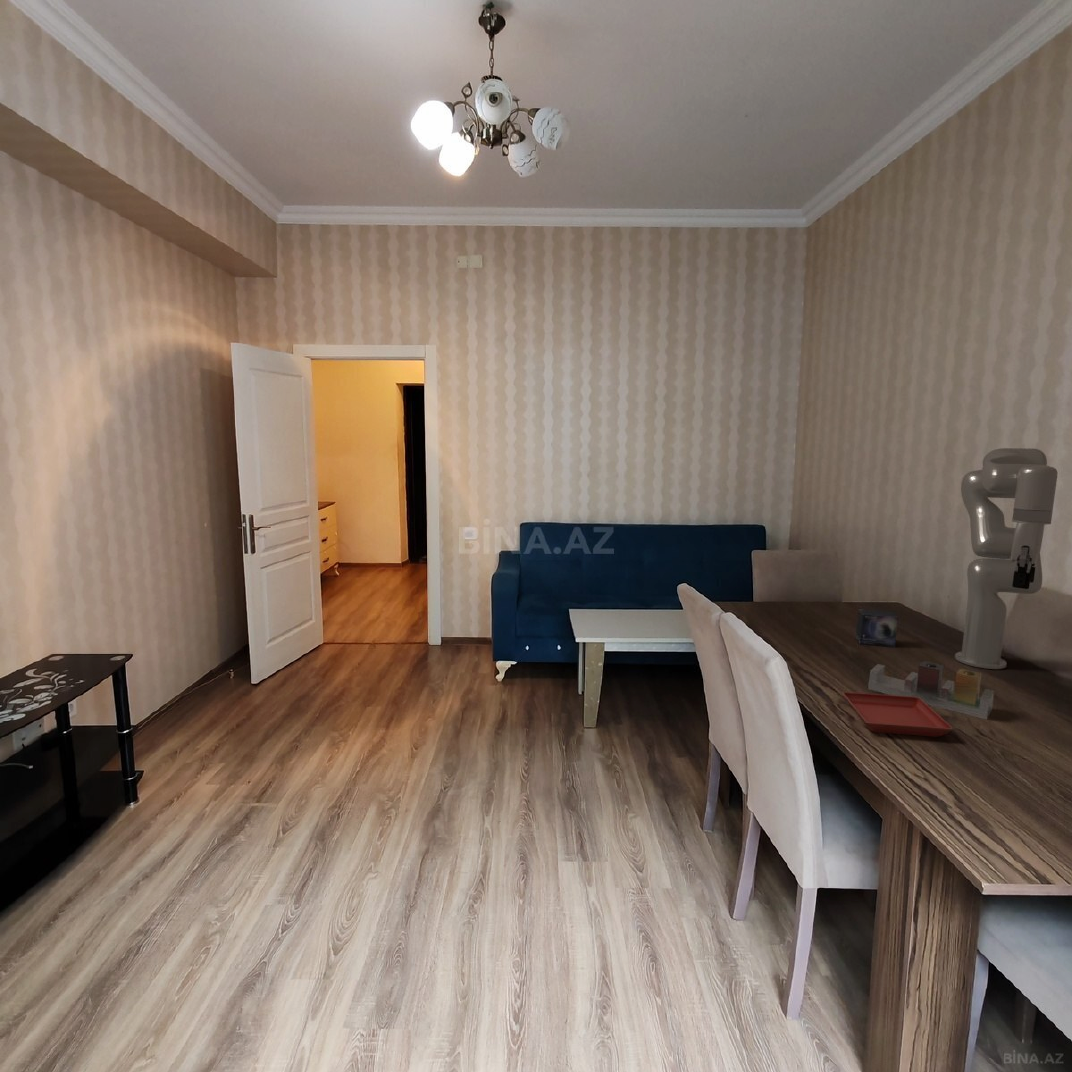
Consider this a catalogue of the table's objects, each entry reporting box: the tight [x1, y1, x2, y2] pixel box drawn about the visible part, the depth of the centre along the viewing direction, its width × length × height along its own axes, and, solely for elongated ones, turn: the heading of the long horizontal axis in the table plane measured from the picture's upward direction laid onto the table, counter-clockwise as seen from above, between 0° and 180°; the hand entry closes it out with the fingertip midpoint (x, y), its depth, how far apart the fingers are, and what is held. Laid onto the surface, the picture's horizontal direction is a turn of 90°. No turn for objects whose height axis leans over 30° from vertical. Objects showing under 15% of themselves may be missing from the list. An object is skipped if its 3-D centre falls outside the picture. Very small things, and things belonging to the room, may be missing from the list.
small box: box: [854, 608, 899, 648], centre depth 201 cm, size 11×6×10 cm, turn 76°
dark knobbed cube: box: [916, 660, 944, 696], centre depth 158 cm, size 4×4×7 cm
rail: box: [867, 663, 995, 720], centre depth 158 cm, size 8×26×5 cm, turn 46°
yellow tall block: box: [953, 668, 983, 705], centre depth 152 cm, size 4×4×7 cm
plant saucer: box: [842, 691, 953, 738], centre depth 146 cm, size 18×18×3 cm
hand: (1022, 584), depth 154 cm, fingers open, 9 cm apart
